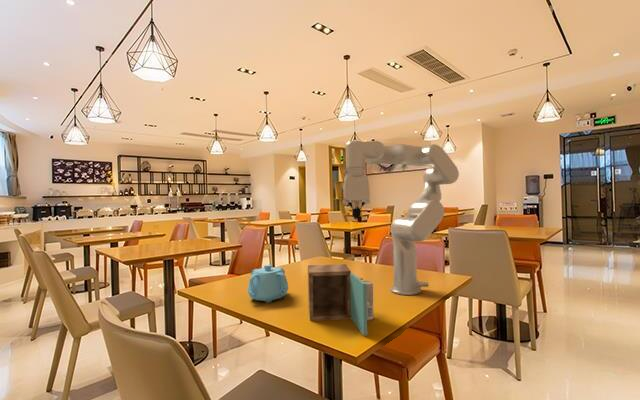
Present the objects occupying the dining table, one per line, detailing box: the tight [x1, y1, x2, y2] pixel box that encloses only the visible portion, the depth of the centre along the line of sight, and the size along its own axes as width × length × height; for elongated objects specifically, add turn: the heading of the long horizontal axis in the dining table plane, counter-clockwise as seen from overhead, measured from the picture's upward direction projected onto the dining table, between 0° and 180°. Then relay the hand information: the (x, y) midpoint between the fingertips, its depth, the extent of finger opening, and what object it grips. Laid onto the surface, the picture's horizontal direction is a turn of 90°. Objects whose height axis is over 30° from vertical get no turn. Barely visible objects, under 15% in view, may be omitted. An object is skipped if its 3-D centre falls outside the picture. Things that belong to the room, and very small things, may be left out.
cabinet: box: [307, 263, 352, 322], centre depth 115 cm, size 14×12×16 cm
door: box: [350, 272, 370, 337], centre depth 102 cm, size 14×2×15 cm, turn 11°
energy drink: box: [362, 280, 374, 322], centre depth 110 cm, size 5×5×12 cm
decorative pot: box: [247, 264, 289, 303], centre depth 135 cm, size 16×16×14 cm
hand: (356, 218), depth 131 cm, fingers closed
